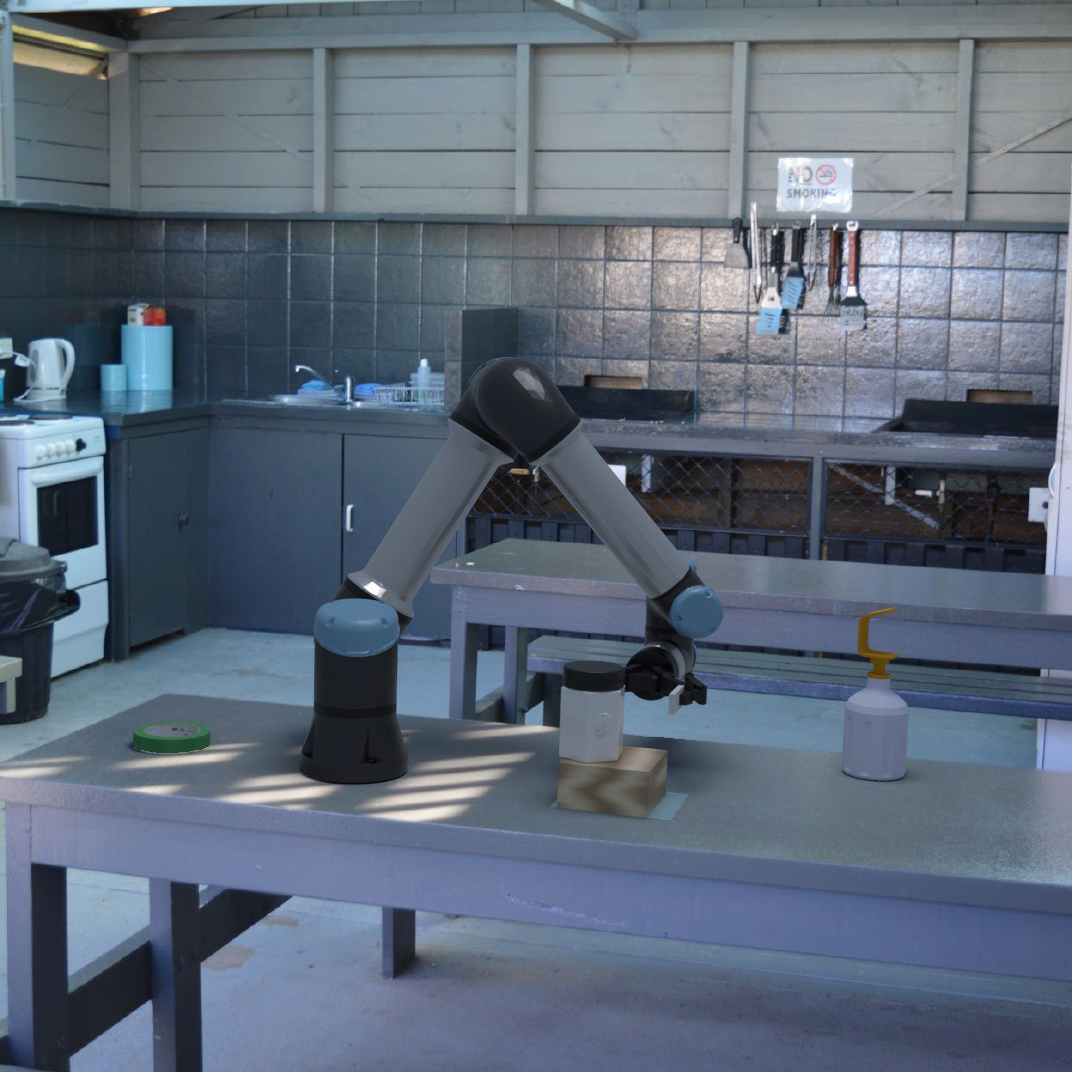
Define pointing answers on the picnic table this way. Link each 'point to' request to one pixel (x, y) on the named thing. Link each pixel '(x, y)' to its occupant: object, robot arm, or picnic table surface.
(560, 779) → the base block
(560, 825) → the picnic table surface
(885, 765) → the soap bottle
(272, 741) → the picnic table surface
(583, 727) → the jar
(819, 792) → the picnic table surface
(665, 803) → the build board
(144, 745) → the tape roll
